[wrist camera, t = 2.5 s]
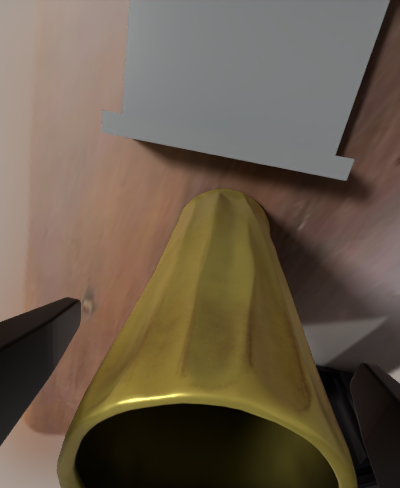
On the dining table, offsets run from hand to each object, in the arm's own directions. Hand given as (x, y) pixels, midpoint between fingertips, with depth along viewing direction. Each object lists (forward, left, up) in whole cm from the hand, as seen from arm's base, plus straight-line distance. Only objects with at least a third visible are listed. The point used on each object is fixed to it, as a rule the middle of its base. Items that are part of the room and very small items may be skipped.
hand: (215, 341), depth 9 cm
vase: (0, 0, -10) cm, 10 cm away
